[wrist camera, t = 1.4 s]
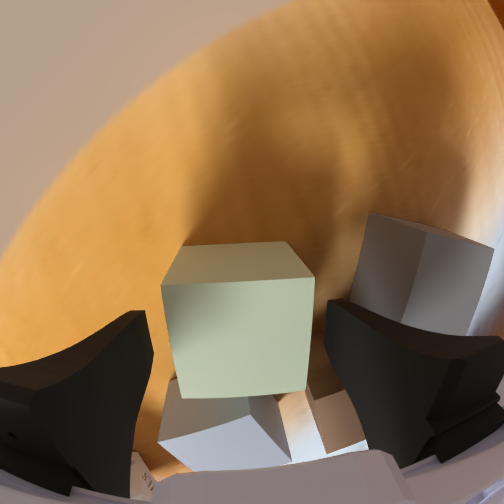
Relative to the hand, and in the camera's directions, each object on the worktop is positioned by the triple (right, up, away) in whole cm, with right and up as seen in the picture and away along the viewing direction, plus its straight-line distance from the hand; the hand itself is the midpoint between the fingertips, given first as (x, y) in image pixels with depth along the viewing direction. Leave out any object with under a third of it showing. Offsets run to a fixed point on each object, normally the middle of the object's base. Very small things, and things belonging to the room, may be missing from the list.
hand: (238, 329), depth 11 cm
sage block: (0, +1, +4) cm, 4 cm away
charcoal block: (+9, +2, +4) cm, 10 cm away
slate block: (-1, -6, +6) cm, 8 cm away
